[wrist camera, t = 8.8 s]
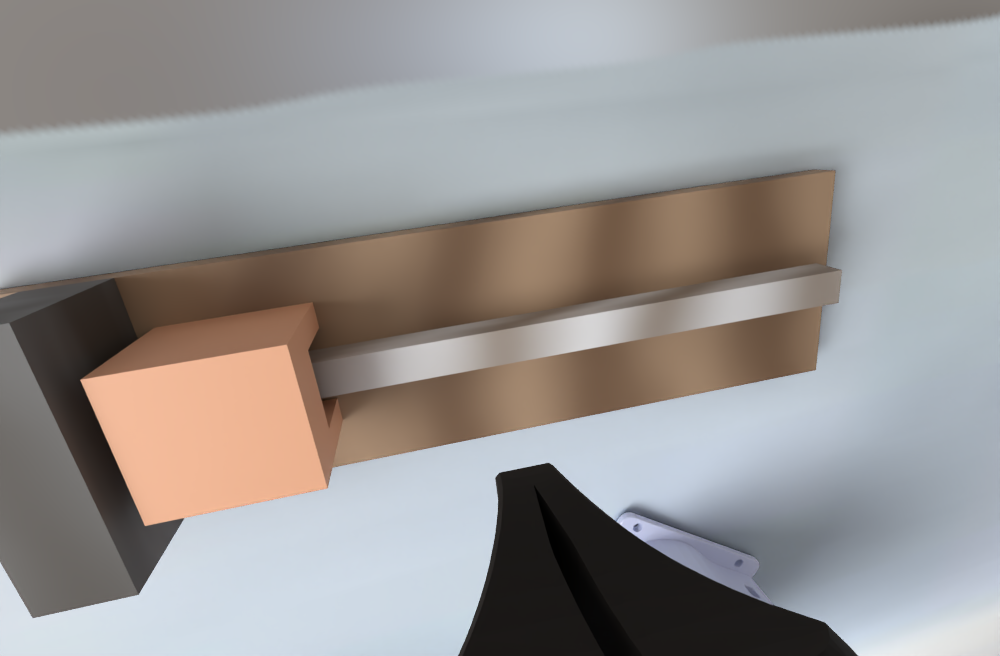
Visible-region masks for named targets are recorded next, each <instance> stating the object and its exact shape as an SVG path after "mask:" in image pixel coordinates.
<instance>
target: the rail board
mask: <svg viewBox="0 0 1000 656" xmlns="http://www.w3.org/2000/svg"><path fill="white" fill-rule="evenodd" d="M834 181H835V171H833V170H808V171H802V172H795V173H788V174H781V175H774V176H768V177H761V178H754V179H747V180H740V181H734V182H727V183H720V184H713V185H707V186H700V187H693V188H686V189H679V190H673V191H666V192H659V193H652V194H645V195H639V196H632V197H625V198H618V199H612V200H605V201H598V202H591V203H584V204H578V205H571V206H564V207H557V208H550V209H544V210H537V211H530V212H523V213H516V214H510V215H503V216H496V217H489V218H483V219H476V220H469V221H462V222H455V223H449V224H442V225H435V226H428V227H421V228H415V229H408V230H401V231H394V232H388V233H381V234H374V235H367V236H360V237H354V238H347V239H340V240H333V241H326V242H320V243H313V244H306V245H299V246H292V247H286V248H279V249H272V250H265V251H259V252H252V253H245V254H238V255H231V256H225V257H218V258H211V259H204V260H197V261H191V262H184V263H177V264H170V265H164V266H157V267H150V268H143V269H136V270H130V271H123V272H116V273H109V274H102V275H96V276H89V277H82V278H75V279H68V280H62V281H55V282H48V283H41V284H35V285H28V286H21V287H14V288H7V289H1V290H0V562H1V564H2V566H3V568H4V569H5V571H6V573H7V574H8V576H9V578H10V580H11V581H12V583H13V585H14V586H15V588H16V590H17V592H18V593H19V595H20V597H21V599H22V600H23V602H24V604H25V605H26V607H27V609H28V611H29V612H30V614H31V616H32V617H33V618H36V617H40V616H45V615H49V614H54V613H58V612H63V611H67V610H72V609H76V608H81V607H85V606H90V605H94V604H99V603H103V602H108V601H112V600H117V599H121V598H126V597H130V596H135V595H139V593H140V591H141V590H142V588H143V586H144V585H145V583H146V581H147V580H148V578H149V576H150V575H151V573H152V571H153V570H154V568H155V566H156V565H157V563H158V561H159V560H160V558H161V556H162V555H163V553H164V551H165V550H166V548H167V546H168V545H169V543H170V541H171V540H172V538H173V536H174V535H175V533H176V531H177V530H178V528H179V526H180V525H181V523H182V521H183V520H184V518H181V519H177V520H172V521H167V522H162V523H157V524H152V525H147V526H145V525H144V523H143V520H142V518H141V516H140V514H139V511H138V509H137V507H136V505H135V502H134V500H133V498H132V496H131V493H130V491H129V489H128V487H127V484H126V482H125V480H124V478H123V475H122V473H121V471H120V469H119V466H118V464H117V462H116V460H115V457H114V455H113V453H112V451H111V448H110V446H109V444H108V441H107V439H106V437H105V435H104V432H103V430H102V428H101V426H100V423H99V421H98V419H97V417H96V414H95V412H94V410H93V408H92V405H91V403H90V401H89V399H88V396H87V394H86V392H85V390H84V387H83V385H82V383H81V381H80V380H81V379H82V378H83V377H85V376H86V375H88V374H89V373H91V372H92V371H93V370H95V369H96V368H98V367H99V366H101V365H102V364H103V363H105V362H106V361H108V360H109V359H110V358H112V357H113V356H115V355H116V354H118V353H119V352H120V351H122V350H123V349H125V348H126V347H128V346H129V345H130V344H132V343H133V342H135V341H136V340H138V339H139V338H140V337H142V336H143V335H145V334H146V333H148V332H149V331H150V330H152V329H153V328H155V327H162V326H168V325H174V324H180V323H186V322H193V321H199V320H205V319H211V318H218V317H224V316H230V315H236V314H242V313H249V312H255V311H261V310H267V309H273V308H280V307H286V306H292V305H298V304H304V303H311V302H313V306H314V309H315V313H316V317H317V321H318V325H319V329H318V331H317V333H316V335H315V337H314V339H313V341H312V343H311V345H310V347H309V350H308V352H309V356H310V359H311V363H312V367H313V371H314V374H315V378H316V382H317V385H318V389H319V393H320V397H321V400H322V401H325V400H330V399H336V398H337V399H338V403H339V407H340V411H341V415H342V419H343V422H342V427H341V431H340V435H339V440H338V444H337V449H336V453H335V458H334V462H333V466H332V468H333V467H338V466H342V465H347V464H352V463H357V462H362V461H367V460H372V459H377V458H382V457H387V456H392V455H397V454H402V453H407V452H412V451H417V450H422V449H427V448H432V447H437V446H442V445H446V444H451V443H456V442H461V441H466V440H471V439H476V438H481V437H486V436H491V435H496V434H501V433H506V432H511V431H516V430H521V429H526V428H531V427H536V426H541V425H546V424H550V423H555V422H560V421H565V420H570V419H575V418H580V417H585V416H590V415H595V414H600V413H605V412H610V411H615V410H620V409H625V408H630V407H635V406H640V405H645V404H650V403H654V402H659V401H664V400H669V399H674V398H679V397H684V396H689V395H694V394H699V393H704V392H709V391H714V390H719V389H724V388H729V387H734V386H739V385H744V384H749V383H754V382H758V381H763V380H768V379H773V378H778V377H783V376H788V375H793V374H798V373H803V372H808V371H813V370H816V362H817V352H818V342H819V332H820V322H821V312H822V306H824V305H829V304H835V303H838V301H839V292H840V283H841V274H842V270H839V269H836V268H832V267H828V266H826V262H827V252H828V242H829V232H830V221H831V211H832V201H833V191H834Z"/></svg>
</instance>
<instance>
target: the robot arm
mask: <svg viewBox="0 0 1000 656" xmlns="http://www.w3.org/2000/svg"><path fill="white" fill-rule="evenodd" d="M495 479H496V486H497V494H498V515H497V525H496V533H495V540H494V545H493V550H492V555H491V560H490V565H489V569H488V573H487V577H486V581H485V584H484V588H483V591H482V594H481V598H480V601H479V604H478V607H477V610H476V612H475V615H474V618H473V621H472V624H471V627H470V629H469V632H468V634H467V637H466V639H465V642H464V644H463V646H462V648H461V651H460V653H459V655H458V656H858V655H857V654H856V653H855V652H854V651H853V650H852V649H851V648H850V647H849V646H848V645H847V644H846V643H845V642H844V641H843V640H842V639H841V638H840V637H839V636H838V635H837V634H836V633H835V632H834V631H833V630H832V629H831V628H830V627H829V626H828V625H827V624H826V623H824V622H821V621H819V620H816V619H813V618H810V617H807V616H804V615H801V614H798V613H795V612H792V611H789V610H786V609H783V608H780V607H777V606H774V604H773V603H772V602H771V601H770V600H769V598H768V597H767V596H766V595H765V593H764V592H763V591H762V590H761V589H760V587H759V586H758V585H757V584H756V582H755V581H754V580H753V579H752V577H753V576H754V575H755V573H756V572H757V571H758V569H759V565H760V564H759V562H758V561H757V559H756V558H755V557H753V556H750V555H748V554H745V553H742V552H739V551H737V550H734V549H731V548H728V547H726V546H723V545H720V544H717V543H715V542H712V541H709V540H706V539H704V538H701V537H698V536H695V535H692V534H690V533H687V532H684V531H681V530H679V529H676V528H673V527H670V526H668V525H665V524H662V523H659V522H657V521H654V520H651V519H648V518H646V517H643V516H640V515H637V514H635V513H631V512H627V513H624V514H622V515H621V516H620V517H619V519H618V520H617V522H616V521H615V520H613V519H612V518H611V517H610V516H608V515H607V514H606V513H605V512H603V511H602V510H601V509H600V508H599V507H597V506H596V505H595V504H594V503H593V502H591V501H590V500H589V499H588V498H587V497H586V496H584V495H583V494H582V493H581V492H580V491H579V490H578V489H577V488H576V487H575V486H573V485H572V484H571V483H570V482H569V481H568V480H567V479H566V478H565V477H564V476H563V475H562V474H561V473H560V472H559V471H558V470H557V469H556V468H555V467H554V466H553V465H551V464H550V463H546V464H541V465H536V466H531V467H526V468H521V469H516V470H511V471H506V472H501V473H499V474H498V475H497V477H496V478H495ZM638 523H639V524H638ZM635 524H638V525H637V526H635V527H634V525H635Z"/></svg>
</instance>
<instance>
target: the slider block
mask: <svg viewBox="0 0 1000 656" xmlns="http://www.w3.org/2000/svg"><path fill="white" fill-rule="evenodd" d="M318 329H319V325H318V321H317V317H316V313H315V309H314V306H313V302H311V303H304V304H298V305H292V306H286V307H280V308H273V309H267V310H261V311H255V312H249V313H242V314H236V315H230V316H224V317H218V318H211V319H205V320H199V321H193V322H186V323H180V324H174V325H168V326H162V327H155V328H153V329H152V330H150V331H149V332H148V333H146V334H145V335H143V336H142V337H140V338H139V339H138V340H136V341H135V342H133V343H132V344H130V345H129V346H128V347H126V348H125V349H123V350H122V351H120V352H119V353H118V354H116V355H115V356H113V357H112V358H110V359H109V360H108V361H106V362H105V363H103V364H102V365H101V366H99V367H98V368H96V369H95V370H93V371H92V372H91V373H89V374H88V375H86V376H85V377H83V378H82V379H81V380H80V381H81V383H82V385H83V387H84V390H85V392H86V394H87V396H88V399H89V401H90V403H91V405H92V408H93V410H94V412H95V414H96V417H97V419H98V421H99V423H100V426H101V428H102V430H103V432H104V435H105V437H106V439H107V441H108V444H109V446H110V448H111V451H112V453H113V455H114V457H115V460H116V462H117V464H118V466H119V469H120V471H121V473H122V475H123V478H124V480H125V482H126V484H127V487H128V489H129V491H130V493H131V496H132V498H133V500H134V502H135V505H136V507H137V509H138V511H139V514H140V516H141V518H142V520H143V523H144V525H145V526H147V525H152V524H157V523H162V522H167V521H172V520H177V519H181V518H186V517H191V516H196V515H201V514H206V513H211V512H215V511H220V510H225V509H230V508H235V507H240V506H244V505H249V504H254V503H259V502H264V501H269V500H274V499H278V498H283V497H288V496H293V495H298V494H303V493H307V492H312V491H317V490H322V489H327V488H328V484H329V480H330V475H331V471H332V466H333V462H334V458H335V453H336V449H337V444H338V440H339V435H340V431H341V427H342V422H343V419H342V415H341V411H340V407H339V403H338V399H337V398H336V399H330V400H325V401H322V400H321V397H320V393H319V389H318V385H317V382H316V378H315V374H314V371H313V367H312V363H311V359H310V356H309V352H308V350H309V347H310V345H311V343H312V341H313V339H314V337H315V335H316V333H317V331H318Z"/></svg>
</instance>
